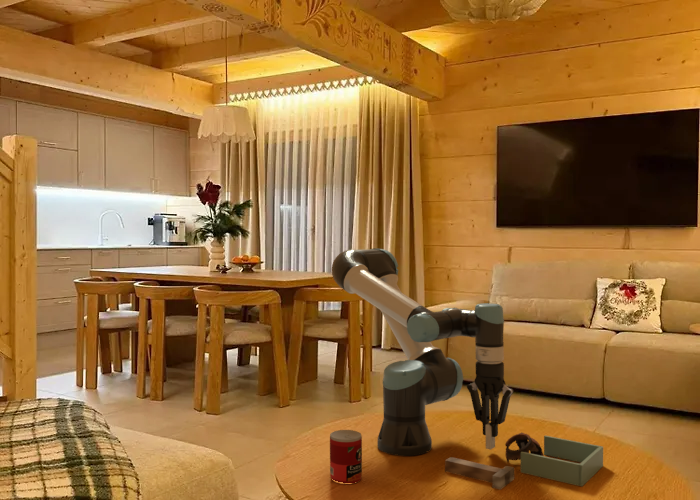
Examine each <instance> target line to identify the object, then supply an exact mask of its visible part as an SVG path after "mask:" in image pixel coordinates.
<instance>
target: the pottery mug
mask: <svg viewBox="0 0 700 500" xmlns="http://www.w3.org/2000/svg"><path fill="white" fill-rule="evenodd" d="M513 443H515V444H516V446H517V447H518V449H515V450H514V449H511V448H509V447H510V446H512V444H513ZM504 445H505V447H506V448H505V459H506V462H510V461H518V460H520V461H521V452H526V453H531V454H536V455H540V456H545V455H544V451H543V449H542V446H541V445H540V443H539V442H538V441H537V440H536V439H535V438H533V437H531V436H530V434H527V433H524V432H519V433H516V434H514V435H512V436H511V437H509V438H508V439H507V441H506V442H505V444H504Z"/></svg>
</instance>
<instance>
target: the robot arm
mask: <svg viewBox="0 0 700 500" xmlns="http://www.w3.org/2000/svg"><path fill="white" fill-rule="evenodd" d="M398 267H399V264H398V261H397V258H396V257H395V256H394V255H393V253H392V252H390V251H389V250H387V249H384V248H370V249H368V248H367V249H347V250H344V251H342V252H341V253H339V254H337V256H335V258H334V260H333V262H332V265H331V275H332V278H333V280H334V282H335V283H336V284H337V286H339V288H340V289H343V290H344V291H345V292H346V293H348V294H351V295H352V294H356V295H357V296H358V297H360V298H361V299H364V301H366V302H368V303H369V304H370V305H372V306H373V307H375V308H377V309H378V310H380V311H381V314H382V316H383V317H384V319H385V321H386V323H387V324H388V326H389V328H390V330H391V331H392V333H393V335H394V337H395V338H396V341H397V343H398V345H399V346H400V348H401V349H402V351H403V353H404V355H405V357H406V358H407V359H405V360H398V361H394V362H392V363H389V364H388V365H387V366H386V367H385V368H384V369H383V379H382V389H383V391H382V392H383V393H382V394H383V395H382V397H383V399H382V400H383V405H382V406H383V420H382V423H381V427H380V430H379V432H378V435H377V436H378V437H377V442H376V443H377V449H378V450H379V451H381V452H382V453H385V454H389V455H393V456H403V457H404V456H406V457H410V456H418V455H423V454H426V453H428V452H430V451H431V450H432V445H433V444H432V437H431V434H430V430H429V428H428V424H427V421H426V406H427V405H432V404H435V403H439V402H445V401H448V400H450V399H451V398H455V397H456V396H457V395H458V394H459V393H460V391H461V390H462V387H463V382H464V374H463V370H462V367H461V366H460V364H459V363H458V362H457V360H455V359H453V358H451V357H446V356H445V354H444V352H443V350H442V349H441V348H439V347H436V346H434V345H433V343H432V342H433V341H439V340H445V339H450V338H455V337H456V338H457V337H469V338H474V339H475V341H474V342H475V360H476V362H475V378H474V382H472V383H470V384H467V385H466V389H467V391H468V393H470V395H469V396H470V399H471V402H472V403H471V404H472V408H473V411H474V416H475V420H476V421H479V422H481V423H482V435H483V436H485V450H493V449H494V448H495V447H496V438H497V436H498V435H499V425H501V424H503V423H504V422H505V421H506V417H507V414H508V413H507V412H508V408H509V403H510V399H511V398H512V395H513V393H514V392H515V390H514V389H513V388H510V387H508V386H507V385H506V381H505V363H504V360H505V348H504V344H505V343H504V329H505V328H504V326H505V325H504V324H505V318H504V308H503V306H502V305H500V304H498V303H490V302H489V303H487V302H486V303H477V304H476V305H475V306H474V309H465V308H458V307H445V308H443V309H442V310H441V311H432V310H431V309H428V307H425V306H424V305H422V304H420V303H419V302H417V301H415V300H414V299H413V298H411V297H409V296H408V295H407V294H404V293H402V291H401V289H400V287H399V285H398V281H399V276H398V275H399V269H398ZM479 392H480V394H479ZM501 392H502V398H501V401H500V406H499V399H500V394H501Z"/></svg>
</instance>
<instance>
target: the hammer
mask: <svg viewBox="0 0 700 500" xmlns="http://www.w3.org/2000/svg"><path fill="white" fill-rule="evenodd" d="M444 472H446V473H450V474H453V475H457V476H461V477H465V478H470V479H475V480H477V481H482V482H486V483H491V484H492V489H496V490H503V488H504V487H506V486H507V485H508V484H510V483H511V482H512V481H514V479H515V467H513V466H509V465H506V466H504V467H503V468H500V467H497V466H492V465H488V464H483V463H479V462H474V461H469V460H465V459H461V458H456V457H453V456H450V457H449V458H446V459H445V460H444Z"/></svg>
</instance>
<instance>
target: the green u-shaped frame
mask: <svg viewBox="0 0 700 500" xmlns="http://www.w3.org/2000/svg"><path fill="white" fill-rule="evenodd" d="M543 454H544V456H540V455H536V454H531V453H530V452H529V453H526V452H521V460H520V473H523V474H527V475H532V476H534V477H538V478H543V479H549V480H552V481H553V480H554V481H557V482H560V483H566V484H569V485H570V484H571V485H575V486H578V487H583V486H584V485H586V483H588V481H590V480H591V479H592V478H593V477H594V475H595V474H597V472H598V471H599V470H601V469H602V468H603V467H604V446H602V445H597V444H591V443H587V442H586V443H585V442H581V441H576V440H570V439H565V438H561V437H560V438H559V437H555V436H550V435H544V437H543ZM548 456H549V457H548ZM553 457H554V458H553ZM558 458H559V459H558ZM562 459H564V460H562Z"/></svg>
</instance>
